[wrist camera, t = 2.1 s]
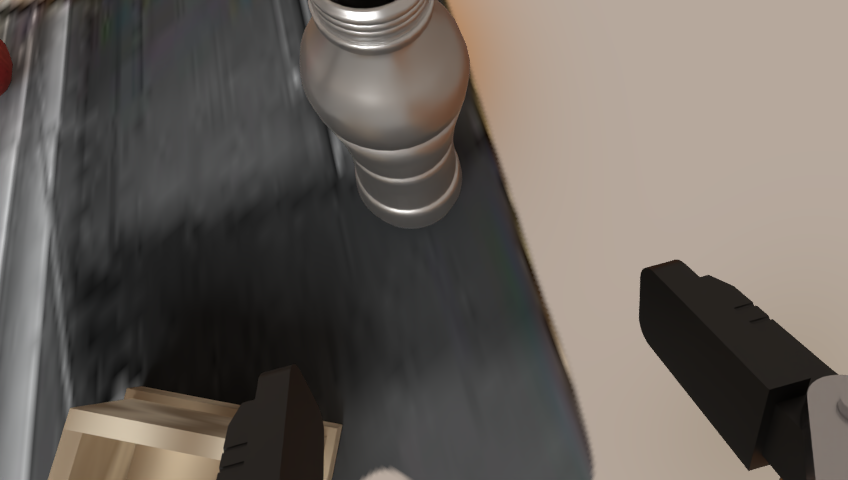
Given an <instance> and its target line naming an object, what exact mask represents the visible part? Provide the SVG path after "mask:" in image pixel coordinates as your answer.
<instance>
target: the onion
mask: <svg viewBox="0 0 848 480" xmlns="http://www.w3.org/2000/svg"><path fill="white" fill-rule="evenodd" d="M12 66H13V64H12V61H11V57H10V54H9V51H8V49H7V47H6V45H5V43H4V42H3V41H2V40H1V39H0V96H1V95H2V94H3V93H4V92H5V91H6V90H7V89H8V86H9V84H10V82H11V79H12Z"/></svg>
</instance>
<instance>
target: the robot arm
mask: <svg viewBox="0 0 848 480" xmlns="http://www.w3.org/2000/svg"><path fill="white" fill-rule="evenodd" d="M639 321H640V326H641V330H642V333H643V335H644V337H645V339H646V341H647V342H648V344H649V345H650V347H651V348H652V349H653V350H654V352H655V353H656V354H657V356H658V357H659V358H660V359H661V361H662V362H663V363H664V364H665V366H666V367H667V368H668V369H669V371H670V372H671V373H672V374H673V375H674V377H675V378H676V379H677V381H678V382H679V383H680V385H681V386H682V387H683V388H684V390H685V391H686V392H687V393H688V395H689V396H690V397H691V398H692V400H693V401H694V402H695V403H696V405H697V406H698V407H699V409H700V410H701V411H702V412H703V414H704V415H705V416H706V417H707V419H708V420H709V421H710V422H711V424H712V425H713V426H714V428H715V429H716V430H717V431H718V433H719V434H720V435H721V436H722V438H723V439H724V440H725V441H726V443H727V444H728V445H729V446H730V448H731V449H732V450H733V451H734V453H735V454H736V455H737V457H738V458H739V459H740V460H741V462H742V463H743V464H744V465H745V467H746V468H747V469H748V470H753V469H756V468H759V467H763V466H767V465H771V466H772V467H773V469H774V470H775V471H776V472H777V473H778V475H779V476H780V479H779V480H848V375H838V374H837V373H836V372H834V371H833V370H832V369H831V368H829V367H828V366H827V365H826V364H825V363H823V362H822V361H821V360H820V359H819V358H818V357H816V356H815V355H814V354H813V353H812V352H811V351H809V350H808V349H807V348H806V347H804V345H802V344H801V343H800V342H799V341H798V340H796V339H795V338H794V337H793V336H792V335H791V334H789V333H788V332H787V331H786V330H785V329H783V328H782V327H781V326H780V325H779V324H778V323H776V322H775V321H774V320H773V319H772V320H770V319H769V316H768V315H767V314H766V313H764V312H763V311H762V310H761V309H760V308H759V307H758V306H754V305H753V302H752V301H751V300H749V299H748V298H747V297H746V296H745V295H743V294H742V293H741V292H740V291H739V290H738V289H736V288H735V287H734V286H732V285H730V284H728V283H725V282H723V281H721V280H719V279H716V278H714V277H712V276H710V275H707V276H703V277H699V276H698V275H697V274H696V273H694V272H693V271H692V270H691V269H690V268H689V267H688V266H687V265H686V264H684V263H683V262H682V261H680V260H673V261H670V262H666V263H662V264H658V265H654V266H651V267H647V268H644V269H643V270H642V272H641V277H640V306H639ZM223 450H224V453H222V456H221V461H220V465H219V470H220V472H219V473H218V474H217V479H216V480H323V478H324V425H323V419H322V415H321V412H320V409H319V406H318V404H317V402H316V400H315V398H314V396H313V394H312V393H311V391H310V389H309V387H308V385H307V383H306V381H305V379H304V377H303V375H302V373H301V371H300V369H299V367H298V366H297V365H296V364H291V365H288V366H284V367H281V368H277V369H273V370H270V371H266V372H262V373H261V374H260V376H259V379H258V384H257V390H256V396H255V400H251V401H247V402H244V403H242V404H241V405H240V407H239V409H238V410H237V412H236V413H235V415H234V417H233V418H232V420H231V422H230V423H229V425H228V428H227V433H226V438H225V442H224V447H223Z"/></svg>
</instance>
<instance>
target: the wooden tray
mask: <svg viewBox="0 0 848 480" xmlns="http://www.w3.org/2000/svg"><path fill="white" fill-rule="evenodd" d="M239 407H240V405H237V404H232V403H227V402H221V401H216V400H211V399H206V398H201V397H195V396H190V395H185V394H180V393H174V392H169V391H164V390H159V389H153V388H148V387H143V386H141V387H133V388H127V390H126V394H125V397H124V400H118V401H112V402H106V403H99V404H93V405H86V406H80V407H74V408H70V410H69V413H68V416H67V420H66V423H65V426H64V429H63V433H62V436H61V439H60V442H59V445H58V449H57V452H56V455H55V458H54V461H53V465H52V468H51V471H50V474H49V478H48V480H216V479H217V474H218V473H219V472H220V470H219V465H220V461H221V456H222V453H224V450H223V447H224V442H225V438H226V433H227V428H228V425H229V423H230V422H231V420H232V418H233V417H234V415H235V413H236V412H237V410H238V409H239ZM323 425H324V478H323V480H332V476H333V471H334V466H335V461H336V456H337V450H338V445H339V440H340V435H341V430H342V424H337V423H332V422H326V421H323Z"/></svg>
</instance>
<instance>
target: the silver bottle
mask: <svg viewBox="0 0 848 480" xmlns="http://www.w3.org/2000/svg"><path fill="white" fill-rule="evenodd" d="M308 6H309V9H310V12H311V14H312V17H311V19H310V21H309V23H308V24H307V26H306V28H305V31H304V34H303V37H302V40H301V47H300V73H301V80H302V86H303V88H304V91H305V94H306V96H307V99H308V100H309V102H310V104H311V105H312V107H313V108H314V110H315V111H316V113H317V114H318V115H319V117H320V118H321V120H322V121H323V122H324V123H325V124H326V125H327V126H328V127H329V128H330V130H331V131H332V132H333V133H334V134H335V135H336V136H337V137H338V138H339V139H340V140H341V141H342V142H343V143H344V144H345V146H346V147H347V149H348V151H349V152H350V154H351V155H352V157H353V161H354V164H355V177H356V183H357V189H358V192H359V194H360V197H361V199H362V200H363V202H364V204H365V205H366V207H367V208H368V209H369V210H370V211H371V212H372V213H373V214H374V215H376V216H377V217H379V218H380V219H382V220H383V221H385V222H387V223H389V224H391V225H393V226H396V227H400V228H405V229H417V228H423V227H426V226H429V225H432V224H434V223H436V222H437V221H439V220H441V219H442V218H443V217H444V216H445V215H446V214H447V213H448V212H449V210H450V209H451V208H452V206H453V205H454V204H455V202H456V201H457V198H458V196H459V194H460V191H461V186H462V170H461V166H460V162H459V158H458V155H457V153H456V151H455V148H454V144H453V135H454V129H455V124H456V121H457V118H458V116H459V113H460V110H461V107H462V104H463V102H464V99H465V94H466V90H467V85H468V80H469V75H470V59H469V55H468V51H467V46H466V43H465V41H464V39H463V36H462V34H461V32H460V30H459V28H458V26H457V23H456V21H455V19H454V18H453V17H452V15H451V14H450V13H449V11H448V10H447V9H446V7H444V6H443V5H442V4H441V3H440V2H439V1H438V0H308Z"/></svg>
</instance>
